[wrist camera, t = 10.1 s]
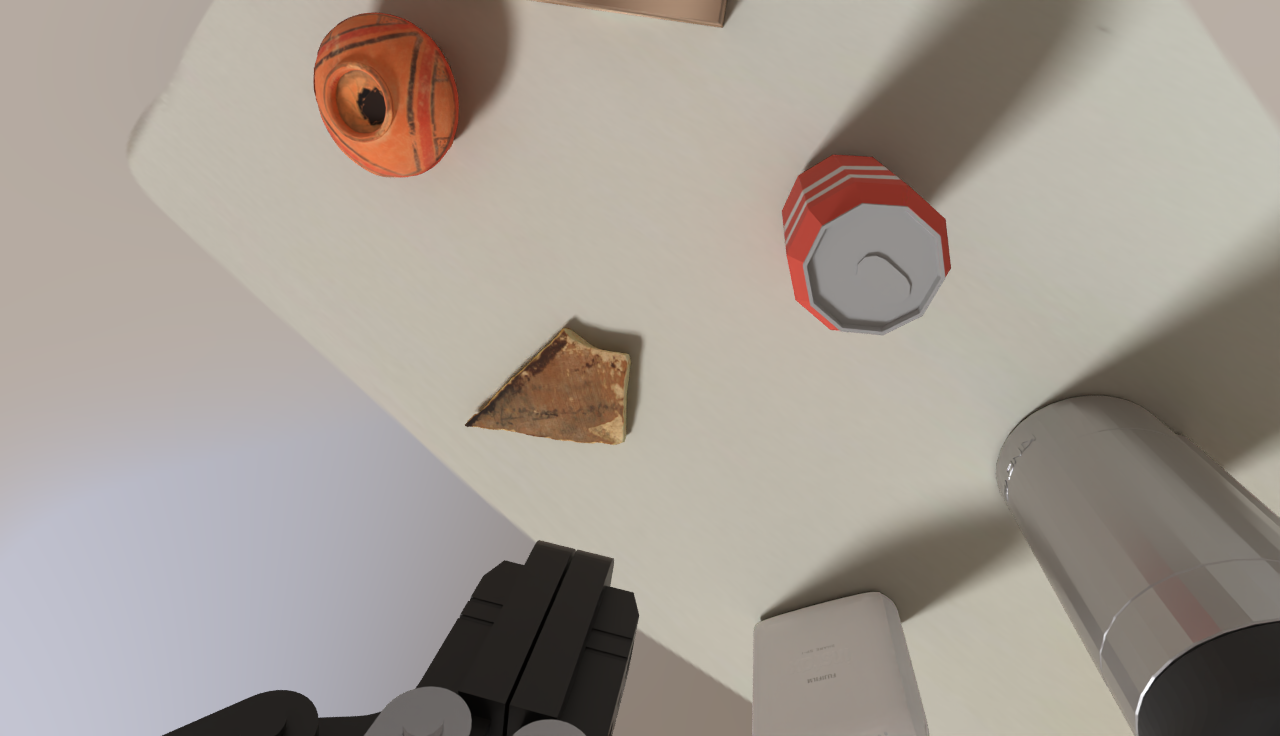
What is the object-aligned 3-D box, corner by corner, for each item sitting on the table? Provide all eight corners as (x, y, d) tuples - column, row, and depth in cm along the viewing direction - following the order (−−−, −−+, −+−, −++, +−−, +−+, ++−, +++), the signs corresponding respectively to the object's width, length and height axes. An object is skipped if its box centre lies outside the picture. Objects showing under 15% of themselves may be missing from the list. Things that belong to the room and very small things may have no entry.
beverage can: (843, 291, 38) (873, 377, 27) (758, 217, 37) (755, 276, 26) (928, 208, 36) (999, 266, 25) (839, 127, 35) (872, 151, 24)
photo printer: (886, 580, 45) (925, 746, 34) (908, 627, 46) (952, 802, 35) (744, 617, 49) (738, 779, 37) (768, 660, 50) (768, 829, 39)
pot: (517, 95, 37) (449, 127, 31) (443, 180, 41) (372, 220, 36) (411, -33, 35) (320, -21, 29) (345, 71, 39) (255, 97, 34)
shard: (473, 416, 46) (462, 428, 45) (468, 310, 43) (457, 320, 42) (628, 438, 45) (622, 452, 43) (635, 331, 42) (629, 341, 40)
